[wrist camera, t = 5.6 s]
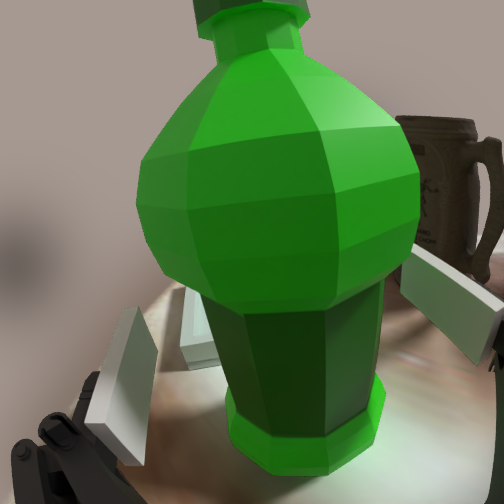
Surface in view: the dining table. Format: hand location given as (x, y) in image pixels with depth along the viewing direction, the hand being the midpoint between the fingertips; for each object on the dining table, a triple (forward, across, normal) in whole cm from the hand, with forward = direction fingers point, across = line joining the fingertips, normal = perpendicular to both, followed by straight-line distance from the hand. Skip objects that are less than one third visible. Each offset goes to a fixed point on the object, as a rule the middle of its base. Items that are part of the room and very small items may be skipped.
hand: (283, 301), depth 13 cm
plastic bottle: (0, 0, -12) cm, 12 cm away
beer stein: (+11, +22, -12) cm, 28 cm away
